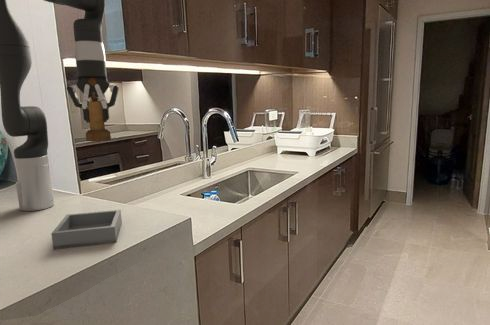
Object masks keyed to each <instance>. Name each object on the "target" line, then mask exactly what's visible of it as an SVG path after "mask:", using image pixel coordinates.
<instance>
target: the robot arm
mask: <svg viewBox="0 0 490 325" xmlns="http://www.w3.org/2000/svg"><path fill="white" fill-rule="evenodd" d="M43 1H44V2H48V3H51V4H52V3H53V4H55V5H60V6H67V7H70V8H73V9H78V10H80V11H81V10H82V11H84V16H83V18H78V19H75V20H74V22H73V24H72V25H73V38H74V58H75V62H76V63H75V66H76V74H77V81H76V83H75V84H72V85H70V86H69V85H68V86H67V87H66V91H67V93H68V94H69V96H70V98H71V100H72V102H73V104H74V107H76V108H80V109H82V115H83V120H84V121H85V122H86V123H88V124H90V121H89V111H88V101H91V97H93V95H92V92H95V97H98V99H99V101H101V104H102V106H103V109H102V111H103V121H104V123H107V122H108V121H109V119H110V114H109V113H110V112H109V109H110V108H111V107H115V105H116V101H117V97H118V93H119V91H120V87H119V86H118V85H114V84H111V83H110V82H109V80H108V76H107V65H106V64H107V63H106V52H105V46H104V43H103V34H102V33H103V32H102V31H103V30H102V25H103V21H104V15H105V10H106V0H43ZM32 60H33V59H32V54H31V47H30V42H29V39H28V37H27V36H26V34H25V32H24V31H23V29H22V28H21V26H20V25H19V24H18V22H17V21H16V19H15V18H14V17H13V14H12V13H11V11H10V9H9V6H8V1H7V0H0V107H1V121H2V125H3V129H4V131H5V132H6V134H7V135H8V136H10V137H15V138H16V137H26V136H27V137H26V140H25V142H24V143H22V144H21V145H19V146H17V147H15V149H14V150H13V155H14V161H15V169H16V175H17V181H16V182H15V188H16V194H17V201H18V209H19V211H25V212H30V211H31V212H33V211H39V210H45V209H49V208H51V207H54V205H55V201H54V193H53V187H52V186H53V185H52V179H51V178H52V177H51V171H50V162H49V156H48V155H49V154H48V148H49V137H48V136H49V135H48V124H47V123H48V122H47V117H46V114H45V112H44V111H43V110H42V108H40V107H39V106H35V105H34V106H33V105H32V106H31V105H30V106H22V105H21V90H22V87H23V85H24V82H25V80H26V79H27V77H28V75H29V72H30V70H31V68H32V65H33V64H32V63H33V62H32ZM89 78H95V79H96V84H95V85H93V86H92V85H90V84H89V83H88V79H89ZM108 89H110V90H109V92H110V93H111V96H110V99H109V102H108V101H107V97H106V95H105V93H106V92H107V91H108ZM78 90H80V92H81V93H82V95H83V96H82V102H81V100H80V99H79V97H78V95H77V93H78Z"/></svg>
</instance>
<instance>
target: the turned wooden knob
mask: <svg viewBox="0 0 490 325" xmlns="http://www.w3.org/2000/svg"><path fill="white" fill-rule="evenodd" d="M88 83H89V84H90V85H92V86H93V85H95V84H96V79H95V78H89V79H88ZM92 95H93V97H90V101H88V111H89V121H90V123H89V130H87V132H85V139H86V140H85V141H87V142H105V141H111V139H112V136H111V131H109V130H108V129H106V126H105V125H106V124H105V122H104V121H103V111H102V109H103V106H102V104H101V101H100V100H98V99H99V97H95V92H92Z"/></svg>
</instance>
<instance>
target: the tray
mask: <svg viewBox="0 0 490 325" xmlns="http://www.w3.org/2000/svg"><path fill="white" fill-rule="evenodd" d="M121 210H122V209H113V210H110V209H109V210H103V211H101V210H100V211H93V212H91V211H90V212H81V213H69V214H66V215H65V216H64V217H63V218H62V219H61V221H60V222H59V223H58V225H57V226H56V227H55V228H54V230H52V232H51V240H52V247H53V248H52V249H53V250H60V249H68V248H77V247H86V246H87V247H88V246H95V245H103V244H104V245H105V244H112V243H116V242H117V240H118V236H119V234H120V231H121V228H122V227H121V226H122V223H123V219H122V211H121Z"/></svg>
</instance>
